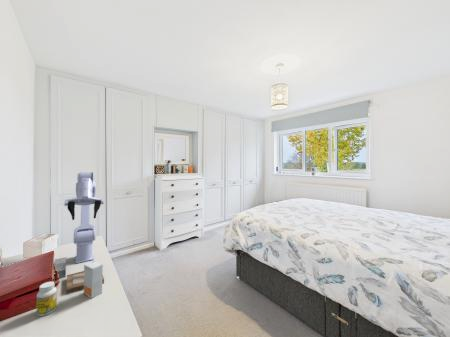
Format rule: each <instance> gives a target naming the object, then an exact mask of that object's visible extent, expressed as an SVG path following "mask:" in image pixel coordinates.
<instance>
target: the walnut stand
mask: <svg viewBox="0 0 450 337" xmlns="http://www.w3.org/2000/svg"><path fill="white" fill-rule="evenodd" d="M103 274H104V273H102V285H103V284H105V277H104V275H103ZM82 290H84V270H83V271H80V272H79V271H78V272H74V273H70V274H66V295H68V294H71V293H74V292H76V293H77V292H79V291H82Z"/></svg>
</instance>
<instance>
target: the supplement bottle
mask: <svg viewBox="0 0 450 337" xmlns="http://www.w3.org/2000/svg"><path fill="white" fill-rule="evenodd" d="M38 289H39V290H38V292H37V293H36V315H37V316H39V317H43V316H47V315H50V314H52V313H53V312H54V311H55V310H56V309H57V306H58V298H57V297H58V289H57V287H56V286H55V282H54V281H46V282H43V283H42V284H40V285H39V288H38Z"/></svg>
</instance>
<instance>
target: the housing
mask: <svg viewBox="0 0 450 337" xmlns="http://www.w3.org/2000/svg"><path fill="white" fill-rule="evenodd" d="M53 267H55V269H56V270H57V271H58V274H59V279H64V278H67V274H66V271H67V256H66V257H65V256H64V257H60V258H56V259H54V266H53ZM59 279H58V280H59Z"/></svg>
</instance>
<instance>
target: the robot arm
mask: <svg viewBox="0 0 450 337" xmlns="http://www.w3.org/2000/svg"><path fill="white" fill-rule="evenodd" d="M96 190H97V182H95V181H94V172H92V171H83V172H81V171H80V172H78V173H77V182H76V184H75V197H74V198H69V199H65V200H64V206H65V207H67V210H68V211H69V213H70V215H71V220H72V221H74V220H75V218H76V217H75V216H76V215H75V214H76V213H75V211H76V210H75V208H76V206H81V208H80V209H81V210H80V224H79V225H78V226H77V227H75V229H73V230H74V232H73V244H74V245H75V246H76V253H75V254H76V255H75V257H74V259H75V264H80V263H85V262H88V261H89V262H90V261H92V260H94V259H95V258H94V253H93V246H94V245H93V242H94V241H96V234H97V233H96V232H97V231H96V227H95V226H94V225H93V224H91V222H90V216H91V214H90V213H91V205H93V219H96V218H97V213H98V212H99V209H100V208H101V206H102V205H104V202H105V200H104V198H97V197H95V196H96ZM75 205H76V206H75Z"/></svg>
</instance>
